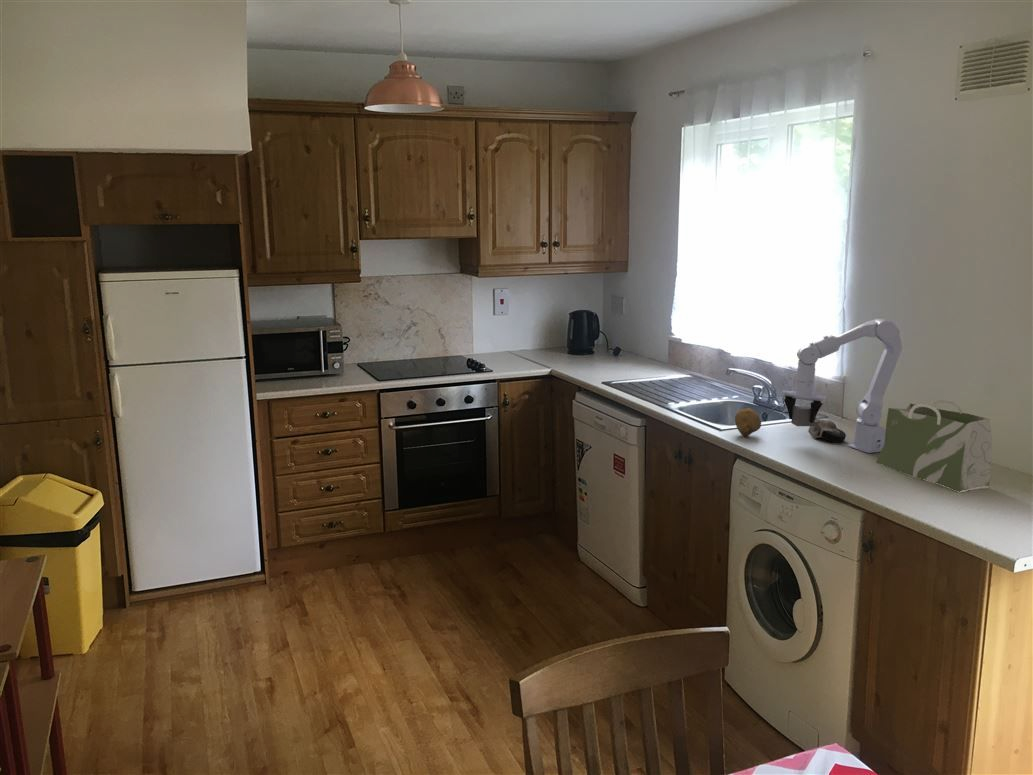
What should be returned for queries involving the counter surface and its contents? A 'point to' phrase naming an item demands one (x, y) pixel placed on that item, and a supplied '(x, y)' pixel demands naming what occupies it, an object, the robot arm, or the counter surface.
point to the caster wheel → (827, 431)
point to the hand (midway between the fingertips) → (801, 420)
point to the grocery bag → (938, 445)
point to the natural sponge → (747, 421)
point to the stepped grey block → (802, 416)
